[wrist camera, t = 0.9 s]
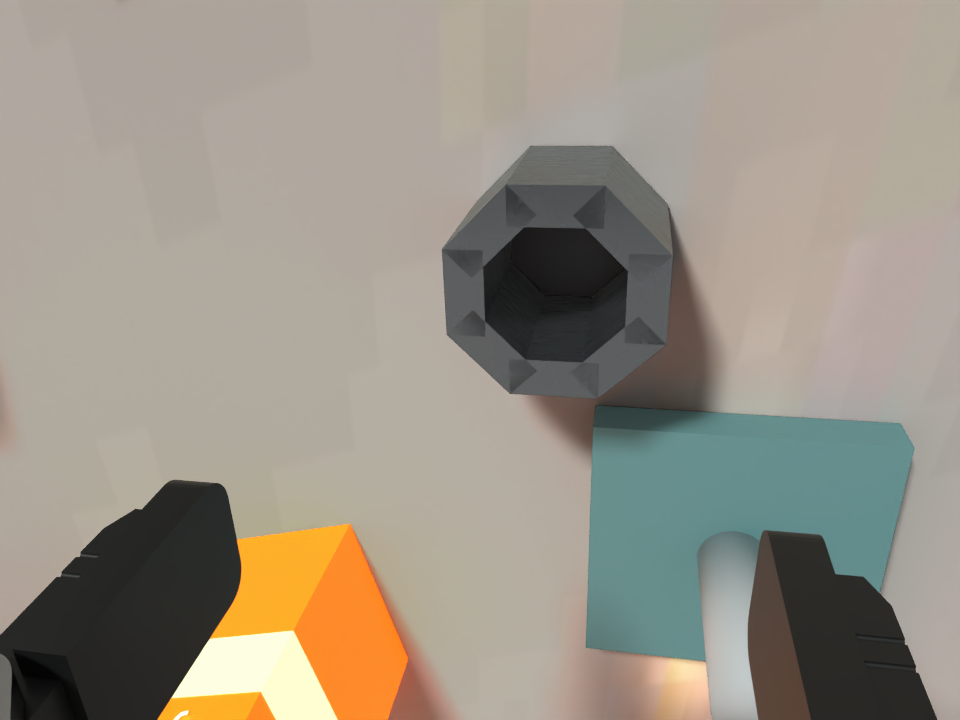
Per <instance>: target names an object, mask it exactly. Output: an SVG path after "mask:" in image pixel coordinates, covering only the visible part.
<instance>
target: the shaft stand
mask: <svg viewBox="0 0 960 720" xmlns="http://www.w3.org/2000/svg"><path fill="white" fill-rule="evenodd" d="M913 452H914V446H913V444H912V443H911V441H910V439H909V437H908V436H907V434H906V432H905V430H904V428H903V427H902V425H901V424H898V423H881V422H864V421H847V420H830V419H813V418H797V417H780V416H763V415H746V414H729V413H712V412H695V411H679V410H662V409H645V408H628V407H611V406H595V414H594V423H593V444H592V474H591V505H590V535H589V566H588V596H587V627H586V648H593V649H602V650H610V651H619V652H628V653H637V654H645V655H654V656H663V657H672V658H681V659H689V660H698V661H706V666H707V677H708V688H709V699H710V710H711V715H712V717H713V719H714V720H758V715H757V709H756V702H755V696H754V690H753V684H752V677H751V671H750V665H749V657H748V616H749V609H750V602H751V596H752V589H753V582H754V576H755V569H756V562H757V556H758V549H759V543H760V538H761V535H762V532H763V531H764V530H771V531H783V532H795V533H807V534H819V535H821V536H822V537H823V539H824V541H825V544H826V547H827V550H828V553H829V556H830V559H831V562H832V565H833V568H834V571H835V574H840V575H851V576H862V577H864V578H865V579H866V580H867V581H868V582H869V583H870V584H871V585H872V586H873V587H874V588H875V589H876V590H877V591H878V592H879V593H880V589H881V585H882V581H883V577H884V572H885V568H886V564H887V560H888V556H889V552H890V548H891V543H892V539H893V535H894V531H895V527H896V523H897V518H898V514H899V510H900V506H901V502H902V498H903V494H904V489H905V485H906V481H907V477H908V473H909V469H910V464H911V460H912V456H913Z"/></svg>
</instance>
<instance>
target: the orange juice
mask: <svg viewBox="0 0 960 720" xmlns="http://www.w3.org/2000/svg"><path fill="white" fill-rule="evenodd" d="M237 543H238V548H239V553H240V558H241V566H242V572H241V581H240V586H239V589H238V592H237V595H236V598H235V600H234V602H233V603H232V605H231V607H230V608H229V610H228V611H227V613H226V614H225V616H224V618H223V619H222V621H221V622H220V624H219V625H218V627H217V628H216V630H215V631H214V633H213V634H212V636H211V638H210V639H209V641H208V642H207V644H206V645H205V647H204V648H203V650H202V651H201V653H200V655H199V656H198V658H197V659H196V661H195V662H194V664H193V665H192V667H191V668H190V670H189V672H188V673H187V675H186V676H185V678H184V679H183V681H182V682H181V684H180V685H179V687H178V689H177V690H176V692H175V693H174V695H173V696H172V698H171V699H170V701H169V702H168V704H167V706H166V707H165V709H164V710H163V712H162V713H161V715H160V716H159V718H158V719H157V720H388V717H389V714H390V711H391V708H392V705H393V702H394V699H395V696H396V694H397V691H398V688H399V685H400V682H401V679H402V676H403V673H404V670H405V667H406V664H407V661H408V657H407V655H406V653H405V650H404V648H403V646H402V643H401V641H400V639H399V636H398V634H397V632H396V629H395V627H394V625H393V622H392V620H391V618H390V616H389V613H388V611H387V609H386V606H385V604H384V602H383V599H382V597H381V595H380V592H379V590H378V588H377V585H376V583H375V581H374V578H373V576H372V574H371V571H370V569H369V567H368V564H367V562H366V560H365V558H364V555H363V553H362V551H361V548H360V546H359V544H358V541H357V539H356V537H355V534H354V532H353V530H352V527H351V525H350V524H347V525H340V526H332V527H325V528H318V529H311V530H304V531H297V532H289V533H282V534H275V535H268V536H261V537H253V538H246V539H239V540H237Z"/></svg>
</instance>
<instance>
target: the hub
mask: <svg viewBox="0 0 960 720" xmlns="http://www.w3.org/2000/svg"><path fill="white" fill-rule="evenodd" d="M524 227H541V228H586V229H587V230H588V231H589V232H590V233H591V234H592V235H593V236H594V237H595V238H596V239H597V240H598V241H599V242H600V243H601V244H602V246H603V247H604V248H605V249H606V250H607V251H608V252H609V253H610V254H611V255H612V256H613V257H614V258H615V259H616V260H617V261H618V262H619V263H620V264H621V265H622V266H623V267H624V268H625V269H624V270H623V271H622V272H621V273H619V274H618V275H617V276H616V277H615V278H614V279H613V280H611V281H610V282H609V283H608V284H607V285H606V286H604V287H603V288H602V289H601V290H600V291H599V292H598V293H596V294H595V295H594V296H593V297H585V296H556V295H545V294H544V293H543V292H542V291H540V290H539V289H538V288H537V287H536V286H535V285H534V284H533V283H532V282H531V281H530V280H529V279H528V278H527V277H526V276H525V275H524V274H523V273H522V272H521V271H520V270H519V269H518V268H517V267H516V266H515V265H514V264H513V263H512V249H511V239H513V238H514V237H515V236H516V235H517V234H518V233H519V232H520V231H521V230H522V229H523V228H524ZM442 259H443V277H444V294H445V312H446V329H447V335H448V336H449V337H450V338H451V339H452V340H453V341H454V342H455V343H456V344H457V345H458V346H459V347H460V348H462V349H463V350H464V351H465V352H466V353H467V354H468V355H469V356H470V357H471V358H472V359H473V360H474V361H475V362H477V363H478V364H479V365H480V366H481V367H482V368H483V369H484V370H485V371H486V372H487V373H488V374H489V375H491V376H492V377H493V378H494V379H495V380H496V381H497V382H498V383H499V384H500V385H501V386H502V387H503V388H504V389H506V390H507V391H508V392H509V393H510V394H524V395H542V396H559V397H576V398H594V399H598V398H599V397H601V396H602V395H603V394H604V393H606V392H607V391H608V390H609V389H611V388H612V387H613V386H614V385H616V384H617V383H618V382H620V381H621V380H622V379H623V378H625V377H626V376H627V375H628V374H630V373H631V372H632V371H634V370H635V369H636V368H637V367H639V366H640V365H641V364H642V363H644V362H645V361H646V360H647V359H649V358H650V357H651V356H653V355H654V354H655V353H656V352H658V351H659V350H660V349H661V348H663V347H664V346H665V345H666V342H667V329H668V315H669V302H670V289H671V276H672V262H673V249H672V239H671V229H670V220H669V210H668V204H667V203H666V202H665V201H664V200H663V199H662V198H661V197H660V196H659V195H658V193H657V192H656V191H655V190H654V189H653V188H652V187H651V186H650V185H649V184H648V183H647V182H646V181H645V180H644V179H643V178H642V177H641V176H640V175H639V174H638V173H637V172H636V170H635V169H634V168H633V167H632V166H631V165H630V164H629V163H628V162H627V161H626V160H625V159H624V158H623V157H622V156H621V155H620V154H619V153H618V152H617V151H616V150H615V148H614V147H613V146H530V147H529V148H528V149H527V151H526V152H525V153H524V154H523V155H522V156H521V157H520V158H519V159H518V160H517V161H516V162H515V163H514V164H513V165H512V166H511V167H510V168H509V169H508V170H507V171H506V172H505V173H504V174H503V175H502V176H501V177H500V178H499V179H498V180H497V181H496V182H495V183H494V184H493V186H492V187H491V188H490V189H489V190H488V191H487V192H486V193H485V194H484V195H483V196H482V197H481V198H480V199H479V200H478V201H477V202H476V203H475V205H474V206H473V207H472V209H471V210H470V211H469V213H468V214H467V216H466V217H465V218H464V220H463V221H462V222H461V224H460V225H459V227H458V228H457V229H456V231H455V232H454V233H453V235H452V236H451V238H450V239H449V240H448V242H447V243H446V244H445V246H444V247H443V249H442Z"/></svg>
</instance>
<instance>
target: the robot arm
mask: <svg viewBox="0 0 960 720" xmlns="http://www.w3.org/2000/svg"><path fill="white" fill-rule="evenodd" d="M80 553H81V555H80V557H76V558H75V559H74V560H73V561H72V562H71V563H70V564H69V565H68V566H67V567H66V568H65V569H64V570H63V571H62V575H61V577H56V578H55V579H54V580H53V581H52V582H51V583H50V584H49V585H48V586H47V588H46V589H45V590H44V591H43V592H42V593H41V594H40V595H39V596H38V597H37V598H36V599H35V600H34V601H33V602H32V603H31V604H30V605H29V606H28V607H27V608H26V609H25V610H24V611H23V612H22V613H21V614H20V615H19V616H18V617H17V618H16V620H15V621H14V622H13V623H12V624H11V625H10V626H9V627H8V628H7V629H6V630H5V631H4V632H3V633H2V634H1V635H0V720H157V719H158V718H159V716H160V715H161V713H162V712H163V710H164V709H165V707H166V706H167V704H168V702H169V701H170V699H171V698H172V696H173V695H174V693H175V692H176V690H177V689H178V687H179V685H180V684H181V682H182V681H183V679H184V678H185V676H186V675H187V673H188V672H189V670H190V668H191V667H192V665H193V664H194V662H195V661H196V659H197V658H198V656H199V655H200V653H201V651H202V650H203V648H204V647H205V645H206V644H207V642H208V641H209V639H210V638H211V636H212V634H213V633H214V631H215V630H216V628H217V627H218V625H219V624H220V622H221V621H222V619H223V618H224V616H225V614H226V613H227V611H228V610H229V608H230V607H231V605H232V603H233V602H234V600H235V598H236V595H237V592H238V589H239V586H240V581H241V572H242V566H241V558H240V553H239V548H238V543H237V538H236V533H235V529H234V524H233V519H232V514H231V509H230V504H229V499H228V495H227V492H226V490H225V488H224V487H223V486H222V485H221V484H219V483H207V482H195V481H183V480H172V481H169V482H168V483H166V484H165V485H164V486H163V487H162V488H161V490H160V491H159V492H158V493H157V494H156V495H155V496H154V497H153V498H152V499H151V500H150V501H149V502H148V503H147V505H146V506H145V507H144V508H143V509H142V510H140V509H135V510H133V511H132V512H130V513H128V514H127V515H125V516H123V517H122V518H120V519H118V520H117V521H115V522H114V523H112V524H110V525H109V526H107V527H105V528H104V529H103V530H102V531H101V532H100V533H99V534H98V535H97V536H96V537H95V538H94V539H93V540H92V541H91V542H90V543H89V544H88V545H87V546H86V547H85V548H84V549H83V550H82V551H81V552H80ZM748 657H749V665H750V671H751V677H752V684H753V690H754V696H755V702H756V709H757V715H758V720H937V718H936V715H935V713H934V710H933V708H932V705H931V703H930V700H929V698H928V695H927V693H926V690H925V688H924V685H923V683H922V680H921V678H920V675H919V673H916V669H915V668H916V665H915V663H914V660H913V658H912V655H911V653H910V650H909V648H908V645H905V638H904V636H903V633H902V631H901V628H900V626H899V623H898V621H897V618H896V616H895V613H894V611H893V608H892V606H891V605H890V604H889V603H888V602H887V601H886V600H885V599H884V597H883V596H882V595H881V594H880V593H879V592H878V591H877V590H876V589H875V588H874V587H873V586H872V585H871V584H870V583H869V582H868V581H867V580H866V579H865V578H864V577H862V576H851V575H840V574H835V571H834V568H833V565H832V562H831V559H830V556H829V553H828V550H827V547H826V544H825V541H824V539H823V537H822V536H821V535H819V534H807V533H795V532H783V531H771V530H764V531H763V532H762V535H761V538H760V543H759V549H758V556H757V562H756V569H755V576H754V582H753V589H752V596H751V602H750V609H749V616H748Z"/></svg>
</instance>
